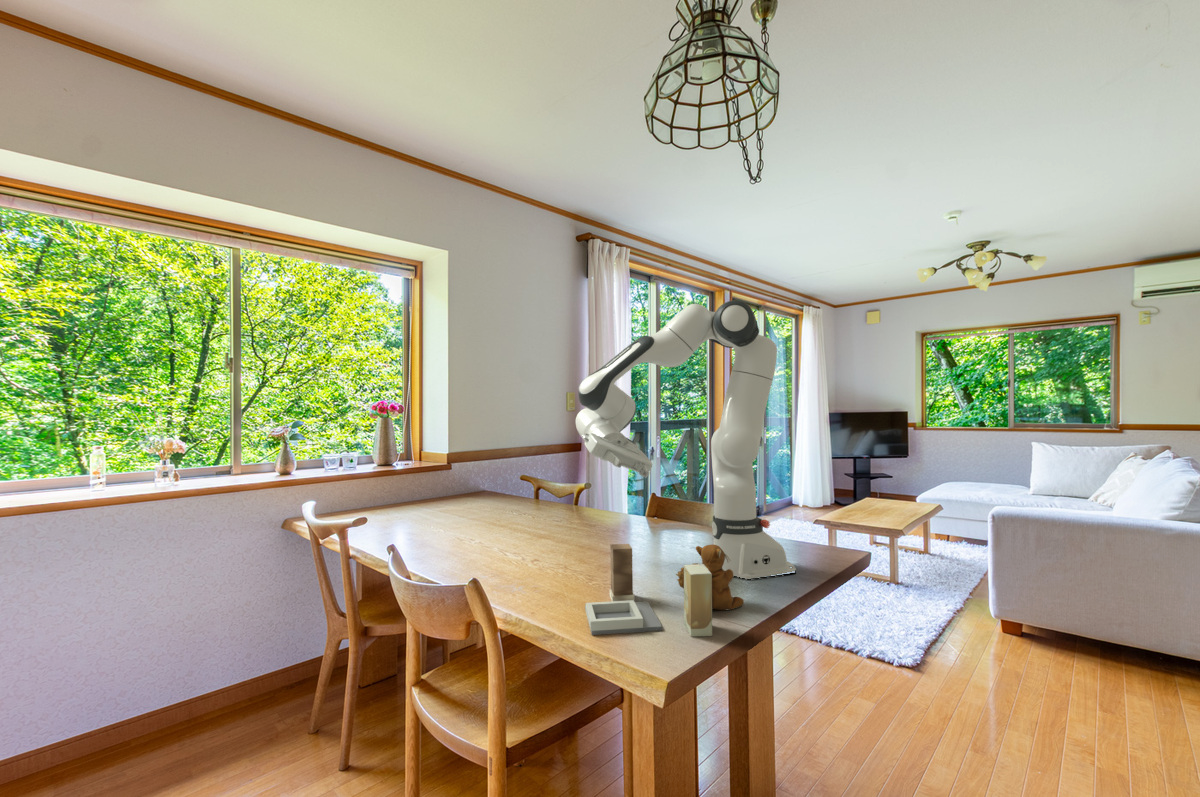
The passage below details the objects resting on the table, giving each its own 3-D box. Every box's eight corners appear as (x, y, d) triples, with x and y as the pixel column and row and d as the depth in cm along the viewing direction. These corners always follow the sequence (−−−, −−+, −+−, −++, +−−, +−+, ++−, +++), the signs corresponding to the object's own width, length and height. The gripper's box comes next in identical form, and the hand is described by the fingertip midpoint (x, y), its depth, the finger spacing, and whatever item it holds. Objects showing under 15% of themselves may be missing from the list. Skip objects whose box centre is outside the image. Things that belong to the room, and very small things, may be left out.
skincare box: (683, 624, 110) (682, 563, 110) (704, 623, 110) (703, 563, 110) (690, 637, 104) (690, 573, 104) (713, 636, 104) (712, 572, 104)
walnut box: (630, 594, 128) (629, 543, 128) (634, 601, 123) (633, 548, 123) (609, 595, 128) (608, 544, 128) (612, 603, 123) (611, 549, 123)
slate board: (647, 604, 121) (647, 593, 121) (662, 630, 107) (661, 617, 107) (584, 608, 119) (584, 596, 119) (590, 635, 105) (590, 621, 105)
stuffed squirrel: (747, 605, 120) (746, 545, 120) (705, 621, 111) (704, 557, 111) (711, 593, 128) (710, 537, 128) (670, 608, 119) (669, 548, 119)
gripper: (585, 422, 141) (608, 447, 130) (640, 445, 153) (666, 470, 141) (573, 442, 142) (595, 469, 131) (629, 463, 154) (654, 490, 142)
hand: (633, 469), depth 136 cm, fingers open, 8 cm apart
